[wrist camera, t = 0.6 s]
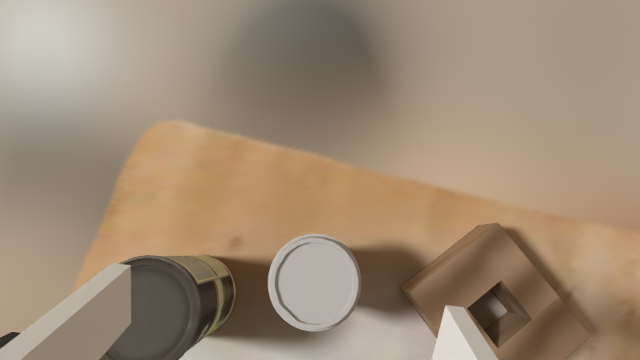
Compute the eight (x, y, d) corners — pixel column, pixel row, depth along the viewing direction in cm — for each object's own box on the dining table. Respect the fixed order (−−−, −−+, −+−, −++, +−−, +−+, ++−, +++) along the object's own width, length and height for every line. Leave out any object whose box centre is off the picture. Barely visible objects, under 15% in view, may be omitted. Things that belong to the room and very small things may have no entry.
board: (559, 325, 43) (591, 335, 38) (479, 396, 41) (501, 416, 36) (478, 225, 45) (497, 222, 41) (399, 287, 44) (409, 292, 39)
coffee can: (250, 309, 43) (219, 338, 29) (177, 351, 42) (109, 402, 28) (216, 239, 45) (171, 235, 31) (145, 278, 44) (66, 291, 30)
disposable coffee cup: (270, 250, 45) (254, 250, 33) (337, 228, 45) (344, 220, 33) (291, 321, 43) (282, 349, 31) (360, 297, 43) (377, 315, 32)
